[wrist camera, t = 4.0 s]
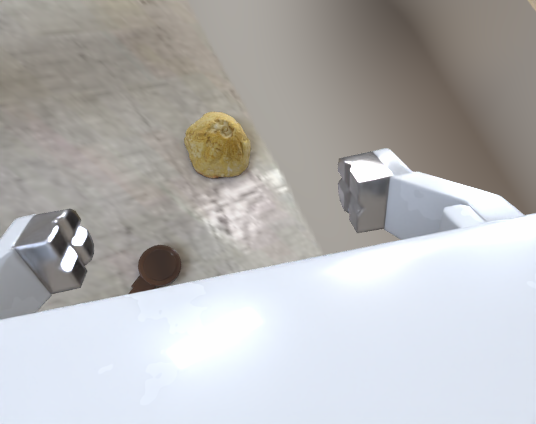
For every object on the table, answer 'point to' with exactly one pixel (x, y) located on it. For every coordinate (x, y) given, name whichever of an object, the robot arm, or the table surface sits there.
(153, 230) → the table surface
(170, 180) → the table surface
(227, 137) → the fossil
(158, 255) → the spoon
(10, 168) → the table surface
